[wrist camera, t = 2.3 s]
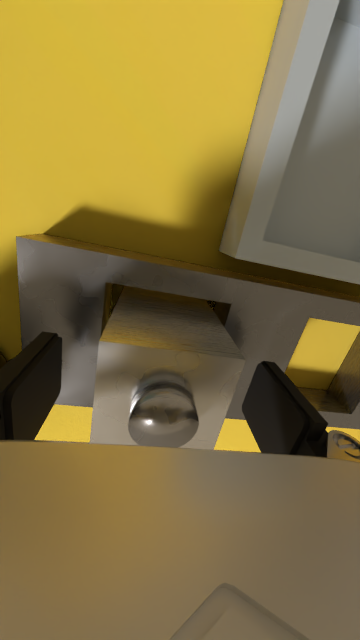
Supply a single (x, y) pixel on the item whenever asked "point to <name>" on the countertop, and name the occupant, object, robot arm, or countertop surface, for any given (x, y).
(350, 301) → the rail
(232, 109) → the countertop surface
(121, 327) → the beige block with knob
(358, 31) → the parts tray
